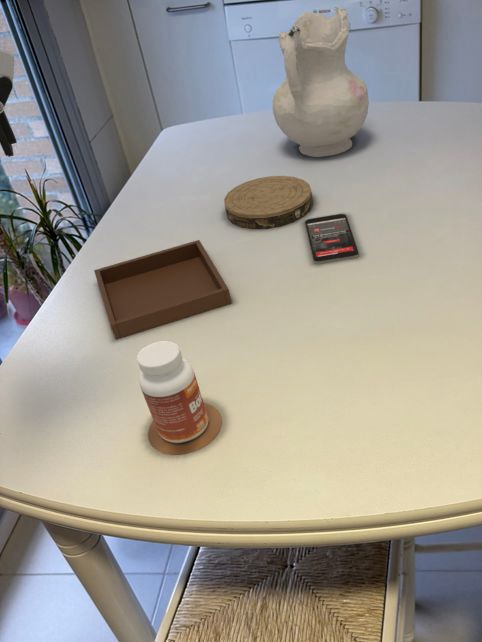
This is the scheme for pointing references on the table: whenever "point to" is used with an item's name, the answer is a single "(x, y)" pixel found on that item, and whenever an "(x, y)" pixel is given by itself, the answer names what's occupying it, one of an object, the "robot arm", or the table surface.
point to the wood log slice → (268, 202)
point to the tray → (160, 288)
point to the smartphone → (331, 239)
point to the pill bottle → (171, 392)
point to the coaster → (192, 445)
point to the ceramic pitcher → (319, 86)
